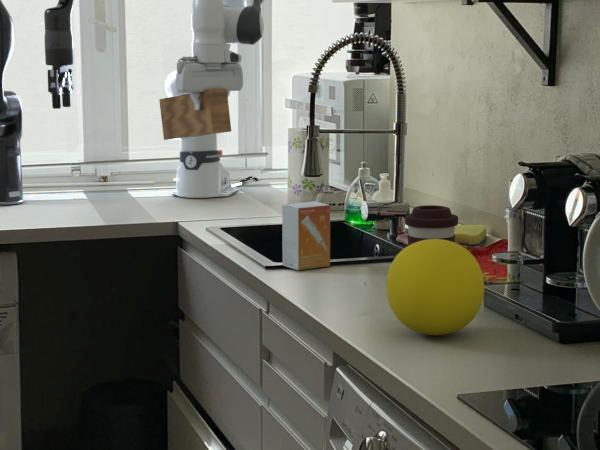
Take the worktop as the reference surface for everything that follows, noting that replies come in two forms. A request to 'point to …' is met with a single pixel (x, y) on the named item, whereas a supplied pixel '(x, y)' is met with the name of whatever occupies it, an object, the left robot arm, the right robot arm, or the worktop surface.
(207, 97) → the box
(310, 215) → the small box
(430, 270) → the toy
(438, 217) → the coffee cup
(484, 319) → the worktop surface
